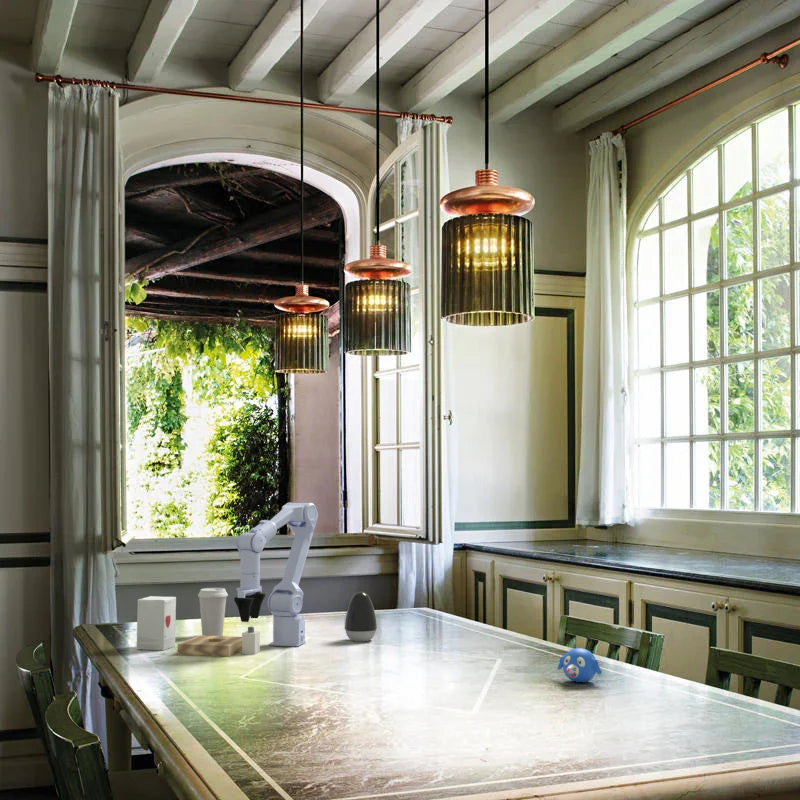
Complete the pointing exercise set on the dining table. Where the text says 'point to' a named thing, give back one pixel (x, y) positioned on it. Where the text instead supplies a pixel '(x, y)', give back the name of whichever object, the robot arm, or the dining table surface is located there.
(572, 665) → the blue mole toy
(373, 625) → the two-tone egg ornament
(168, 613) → the supplement box
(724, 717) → the dining table surface
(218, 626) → the coffee cup
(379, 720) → the dining table surface
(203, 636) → the socket plate
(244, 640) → the plug
